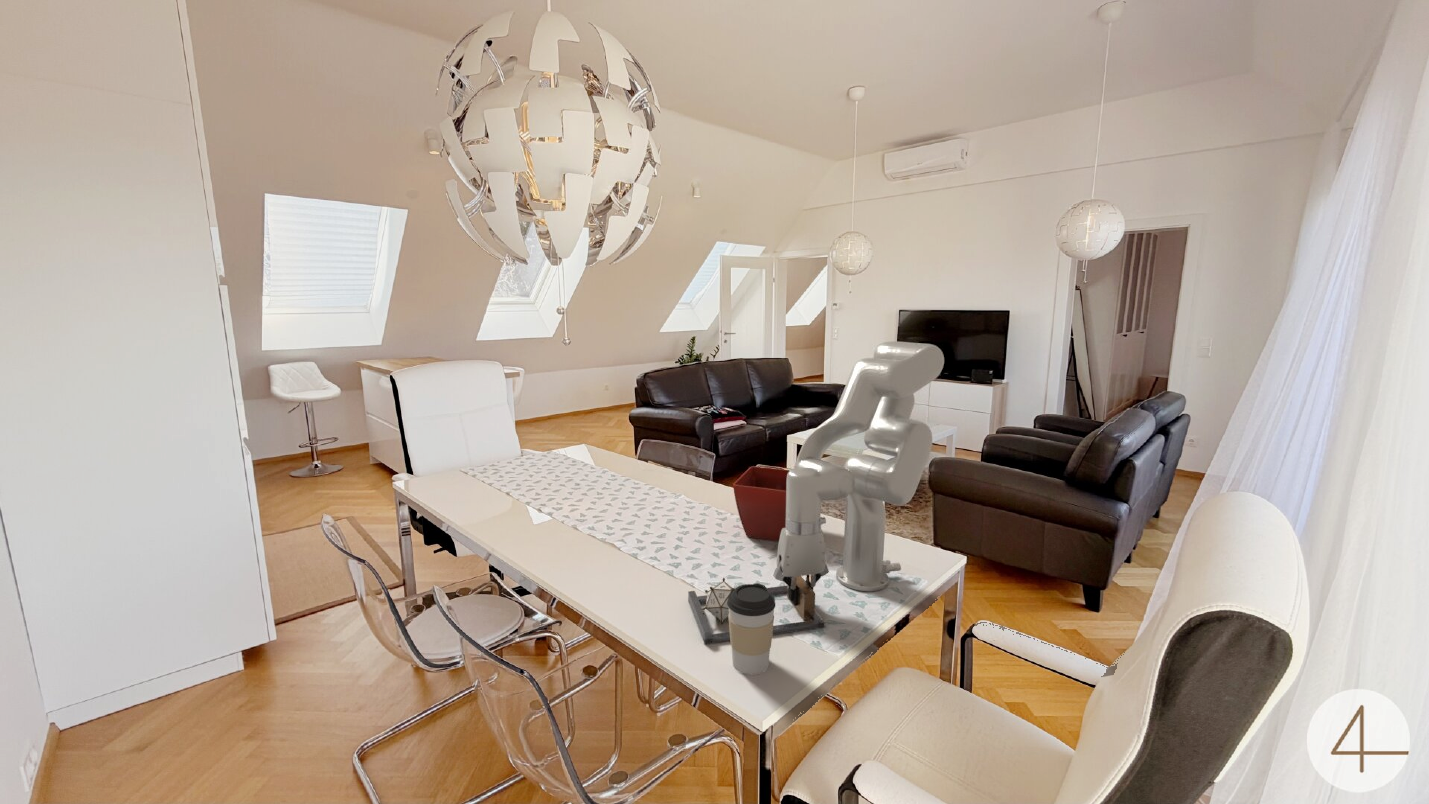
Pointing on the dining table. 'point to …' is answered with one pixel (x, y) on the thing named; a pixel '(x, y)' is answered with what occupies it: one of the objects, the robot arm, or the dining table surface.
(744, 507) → the plant pot
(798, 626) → the frame
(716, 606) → the game die
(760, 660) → the coffee cup
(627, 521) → the dining table surface
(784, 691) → the dining table surface
